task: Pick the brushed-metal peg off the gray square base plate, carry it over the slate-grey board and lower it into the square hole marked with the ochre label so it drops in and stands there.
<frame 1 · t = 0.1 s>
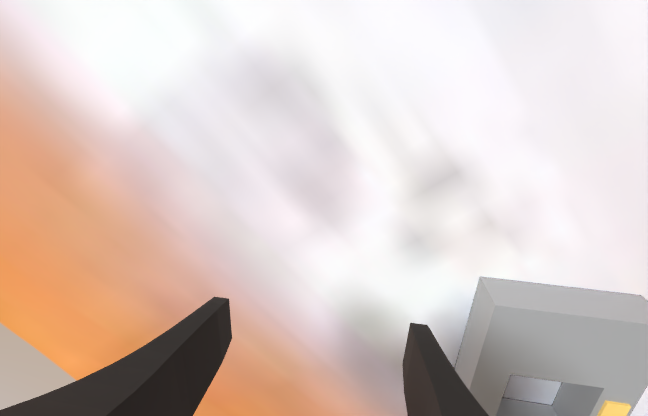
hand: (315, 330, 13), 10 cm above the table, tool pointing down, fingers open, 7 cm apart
hole board: (524, 373, 24), on the table
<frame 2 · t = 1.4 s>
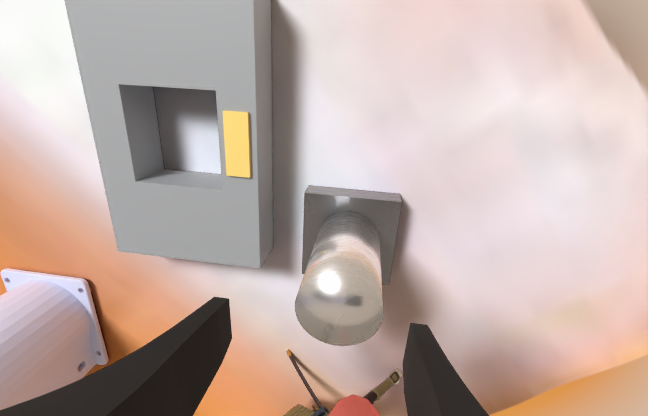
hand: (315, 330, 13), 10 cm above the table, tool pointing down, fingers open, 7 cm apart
samurai figurine: (294, 382, 29), on the table
gray square base plate: (349, 230, 22), on the table
metal peg: (348, 240, 21), point 1 cm above the table, touching gray square base plate
hole board: (198, 131, 21), on the table
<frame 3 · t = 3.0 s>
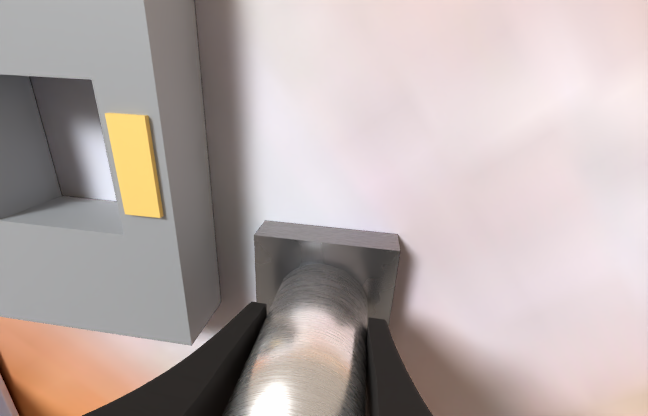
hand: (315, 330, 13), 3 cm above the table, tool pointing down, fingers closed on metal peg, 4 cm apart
gray square base plate: (326, 283, 16), on the table
metal peg: (321, 302, 14), point 1 cm above the table, touching gripper, gray square base plate
hole board: (101, 143, 15), on the table
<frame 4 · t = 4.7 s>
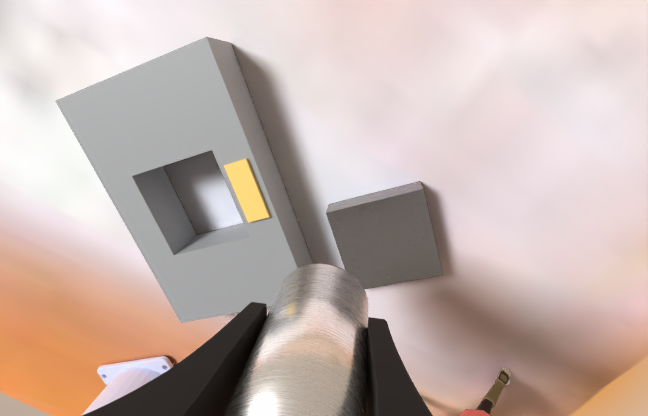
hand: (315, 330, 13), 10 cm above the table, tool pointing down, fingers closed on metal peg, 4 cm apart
samurai figurine: (399, 407, 28), on the table
gray square base plate: (384, 233, 22), on the table
metal peg: (322, 302, 14), point 8 cm above the table, touching gripper
hole board: (213, 191, 22), on the table
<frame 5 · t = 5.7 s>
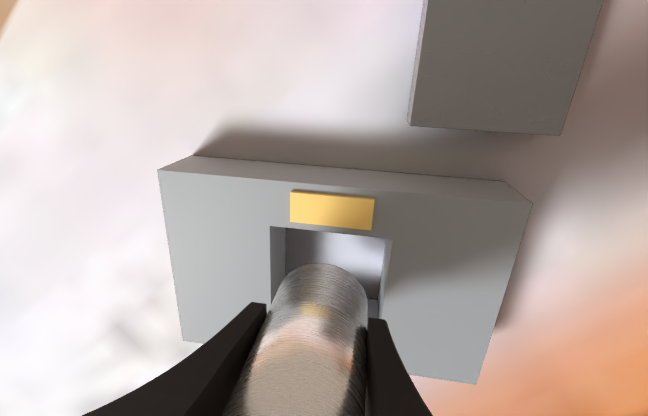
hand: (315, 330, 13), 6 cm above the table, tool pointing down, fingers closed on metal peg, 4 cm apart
gray square base plate: (488, 53, 14), on the table
metal peg: (321, 302, 14), point 4 cm above the table, touching gripper
hole board: (333, 253, 18), on the table
when the fingers open (4 cm above the table, at t = 6.5 s): metal peg drops 3 cm, resting in hole board.
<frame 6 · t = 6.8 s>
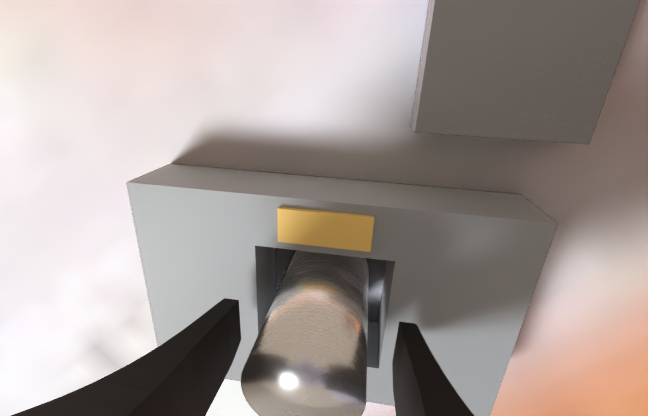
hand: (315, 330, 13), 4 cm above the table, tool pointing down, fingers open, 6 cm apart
gray square base plate: (505, 49, 12), on the table
metal peg: (329, 270, 17), resting in hole board
hole board: (329, 271, 17), on the table
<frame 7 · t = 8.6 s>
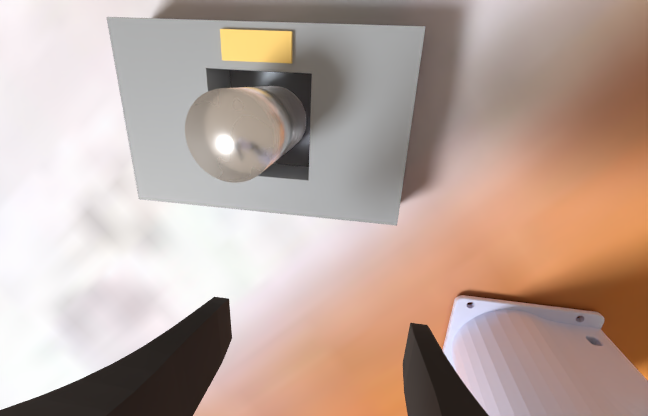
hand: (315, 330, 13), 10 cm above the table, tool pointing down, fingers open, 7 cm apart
metal peg: (275, 119, 20), resting in hole board
hole board: (275, 120, 20), on the table
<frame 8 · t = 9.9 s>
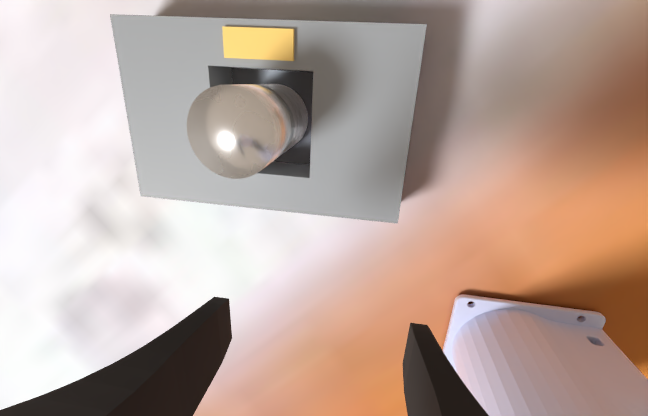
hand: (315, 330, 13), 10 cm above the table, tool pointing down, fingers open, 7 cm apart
metal peg: (276, 117, 20), resting in hole board
hole board: (276, 118, 20), on the table
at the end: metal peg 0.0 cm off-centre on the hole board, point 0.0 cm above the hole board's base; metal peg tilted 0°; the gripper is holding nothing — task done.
